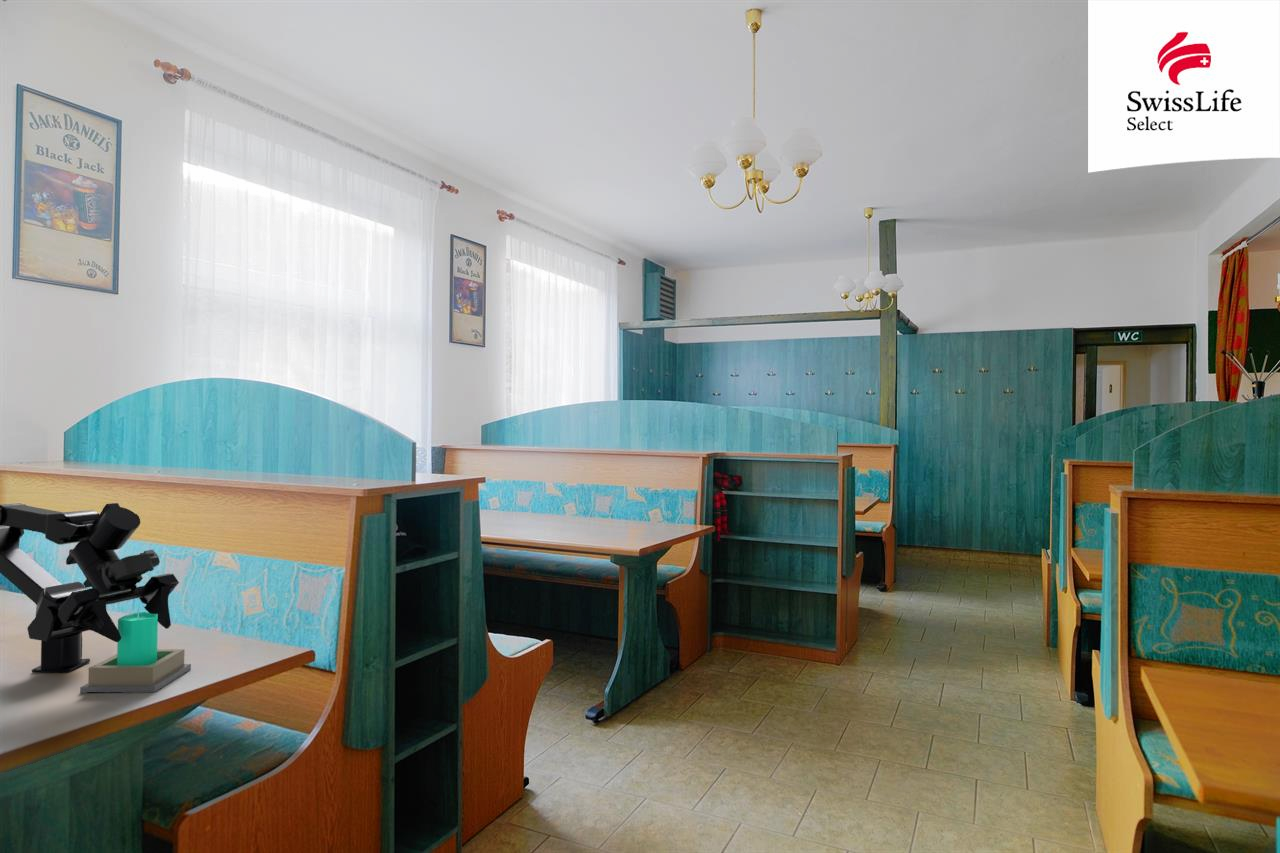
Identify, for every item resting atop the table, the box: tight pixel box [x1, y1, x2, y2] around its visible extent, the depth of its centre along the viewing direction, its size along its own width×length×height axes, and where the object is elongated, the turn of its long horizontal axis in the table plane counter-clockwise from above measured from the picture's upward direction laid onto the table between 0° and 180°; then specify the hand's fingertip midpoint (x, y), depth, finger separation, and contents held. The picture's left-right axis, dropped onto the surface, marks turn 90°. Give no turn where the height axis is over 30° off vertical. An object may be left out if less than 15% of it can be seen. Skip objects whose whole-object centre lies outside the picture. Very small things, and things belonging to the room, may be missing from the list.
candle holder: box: [79, 648, 192, 694], centre depth 132 cm, size 12×12×4 cm
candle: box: [116, 607, 159, 666], centre depth 132 cm, size 6×6×12 cm
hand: (144, 633), depth 131 cm, fingers open, 9 cm apart
